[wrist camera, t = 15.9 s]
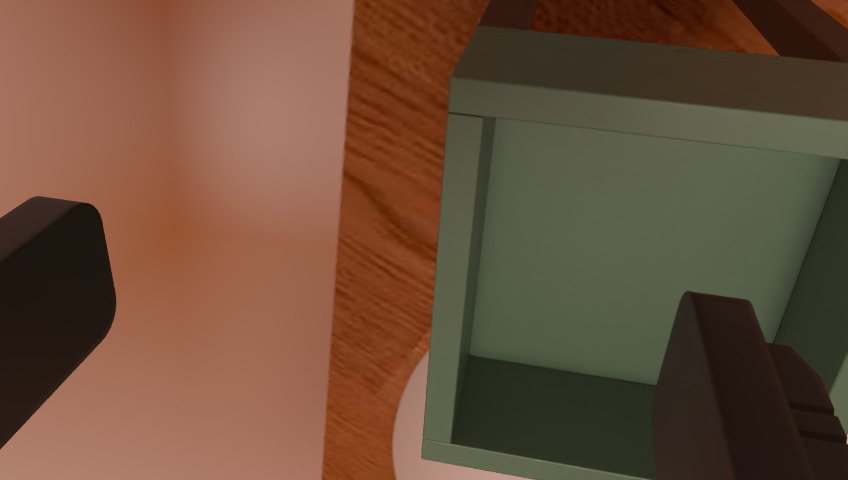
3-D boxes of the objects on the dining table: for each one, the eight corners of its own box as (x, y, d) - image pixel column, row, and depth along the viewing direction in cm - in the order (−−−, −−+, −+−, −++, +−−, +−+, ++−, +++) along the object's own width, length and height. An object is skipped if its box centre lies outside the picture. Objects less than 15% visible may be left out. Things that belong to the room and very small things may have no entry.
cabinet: (523, -64, 43) (449, 76, 19) (753, -44, 41) (990, 137, 17) (497, 156, 50) (420, 459, 26) (693, 181, 48) (803, 529, 24)
